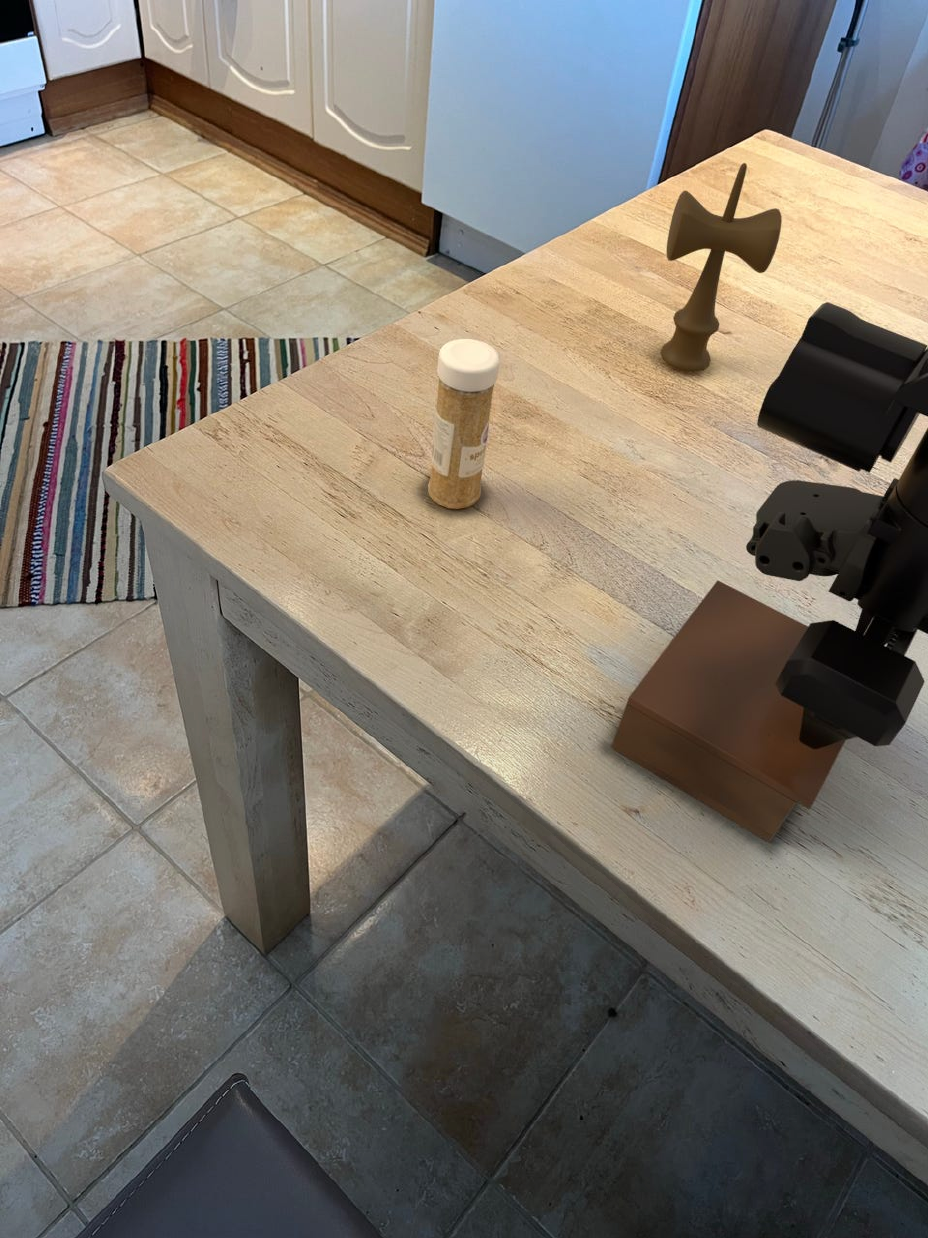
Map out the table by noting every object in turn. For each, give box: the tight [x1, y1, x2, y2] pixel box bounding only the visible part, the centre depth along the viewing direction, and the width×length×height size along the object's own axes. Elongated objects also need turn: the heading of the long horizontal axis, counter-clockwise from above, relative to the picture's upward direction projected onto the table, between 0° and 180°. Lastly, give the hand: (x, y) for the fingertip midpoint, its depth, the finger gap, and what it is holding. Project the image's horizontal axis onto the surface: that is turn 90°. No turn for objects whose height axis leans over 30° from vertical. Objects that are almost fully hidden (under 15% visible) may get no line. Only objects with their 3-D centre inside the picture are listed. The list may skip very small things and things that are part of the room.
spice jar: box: [427, 338, 500, 510], centre depth 75 cm, size 5×5×13 cm
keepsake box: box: [610, 703, 797, 843], centre depth 64 cm, size 12×14×5 cm
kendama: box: [660, 162, 783, 373], centre depth 90 cm, size 6×10×20 cm, turn 81°
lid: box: [626, 580, 847, 810], centre depth 60 cm, size 12×14×4 cm
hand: (834, 696), depth 59 cm, fingers open, 9 cm apart
